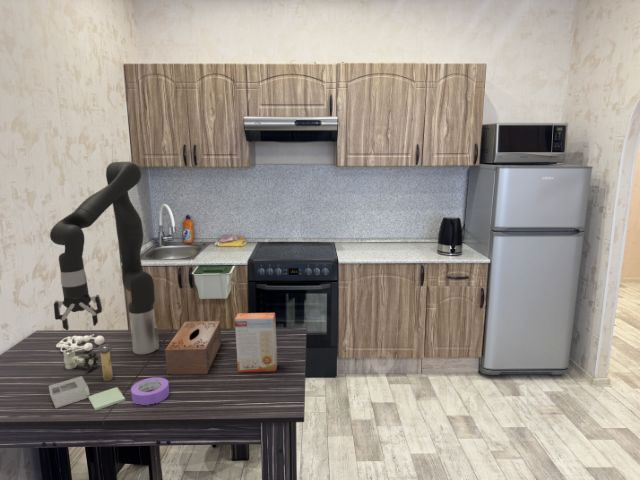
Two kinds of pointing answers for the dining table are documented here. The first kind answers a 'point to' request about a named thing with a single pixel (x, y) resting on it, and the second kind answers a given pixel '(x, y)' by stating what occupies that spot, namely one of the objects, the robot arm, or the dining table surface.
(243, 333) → the cracker box
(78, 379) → the block
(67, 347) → the tangled rod sculpture
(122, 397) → the pad
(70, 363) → the valve
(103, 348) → the knob
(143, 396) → the masking tape
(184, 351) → the tissue box cover
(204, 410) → the dining table surface
